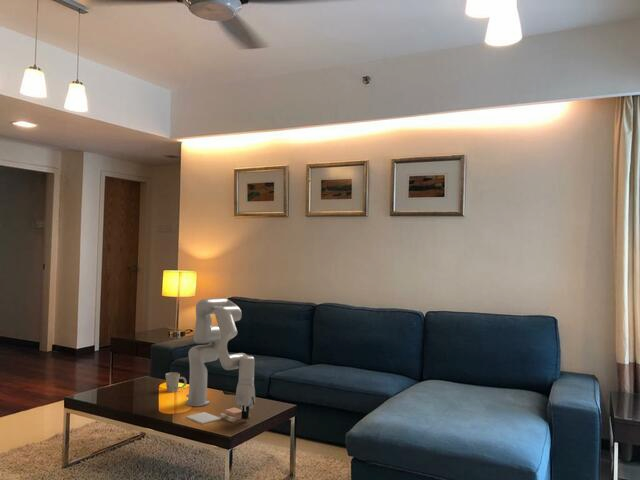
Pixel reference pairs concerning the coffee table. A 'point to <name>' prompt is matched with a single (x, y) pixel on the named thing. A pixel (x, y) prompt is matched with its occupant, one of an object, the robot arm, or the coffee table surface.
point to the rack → (228, 417)
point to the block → (234, 413)
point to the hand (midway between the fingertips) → (245, 418)
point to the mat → (203, 418)
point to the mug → (173, 381)
